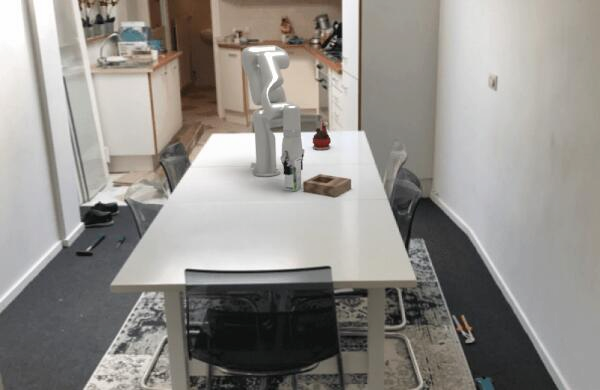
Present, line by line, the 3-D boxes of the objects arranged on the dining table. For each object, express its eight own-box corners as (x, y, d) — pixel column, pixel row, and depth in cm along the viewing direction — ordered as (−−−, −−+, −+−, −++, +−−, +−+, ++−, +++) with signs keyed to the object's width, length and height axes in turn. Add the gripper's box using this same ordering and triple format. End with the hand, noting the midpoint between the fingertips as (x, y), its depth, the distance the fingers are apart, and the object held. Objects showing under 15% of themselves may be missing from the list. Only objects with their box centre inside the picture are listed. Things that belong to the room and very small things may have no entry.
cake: (309, 147, 361) (309, 115, 356) (324, 145, 365) (324, 113, 360) (318, 151, 352) (317, 118, 347) (333, 149, 356) (333, 117, 350)
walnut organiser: (303, 191, 284) (303, 181, 282) (319, 183, 295) (319, 174, 293) (335, 197, 275) (335, 187, 274) (351, 188, 286) (351, 178, 285)
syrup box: (284, 190, 286) (283, 158, 282) (290, 186, 291) (289, 155, 287) (295, 191, 284) (294, 159, 279) (301, 188, 289) (301, 156, 284)
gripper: (295, 129, 289) (296, 166, 293) (273, 136, 275) (275, 175, 279) (310, 130, 285) (311, 168, 289) (288, 138, 271) (289, 177, 276)
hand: (293, 172), depth 284 cm, fingers open, 9 cm apart
